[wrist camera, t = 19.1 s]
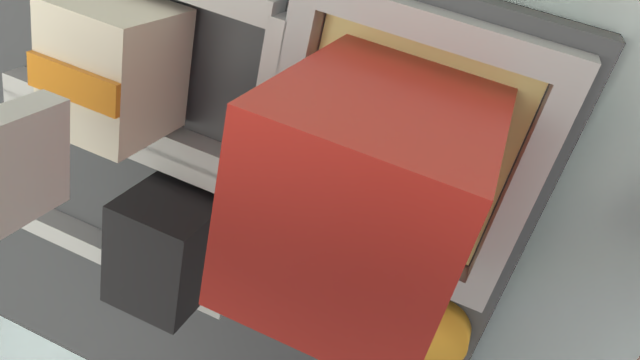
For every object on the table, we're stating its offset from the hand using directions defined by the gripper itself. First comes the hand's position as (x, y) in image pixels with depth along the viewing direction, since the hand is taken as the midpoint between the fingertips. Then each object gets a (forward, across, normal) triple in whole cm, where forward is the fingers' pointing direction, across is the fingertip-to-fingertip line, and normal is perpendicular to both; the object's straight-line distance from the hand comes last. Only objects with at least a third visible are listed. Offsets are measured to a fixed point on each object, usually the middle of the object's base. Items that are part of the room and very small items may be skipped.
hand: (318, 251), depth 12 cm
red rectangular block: (+6, 0, +1) cm, 6 cm away
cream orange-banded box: (+6, -8, 0) cm, 10 cm away
